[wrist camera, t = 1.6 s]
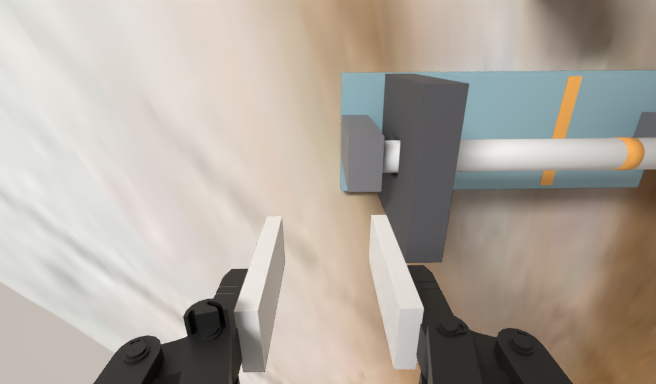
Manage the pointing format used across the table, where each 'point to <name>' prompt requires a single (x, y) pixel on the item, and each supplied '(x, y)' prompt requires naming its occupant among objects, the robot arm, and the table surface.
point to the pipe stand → (518, 129)
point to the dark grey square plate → (422, 160)
